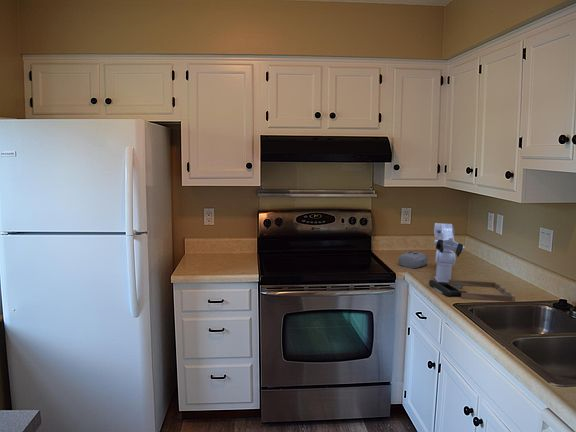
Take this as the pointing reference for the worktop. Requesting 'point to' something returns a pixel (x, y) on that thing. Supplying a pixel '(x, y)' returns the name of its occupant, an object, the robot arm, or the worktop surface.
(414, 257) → the grey rounded bag
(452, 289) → the door handle
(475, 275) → the worktop surface
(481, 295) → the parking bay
